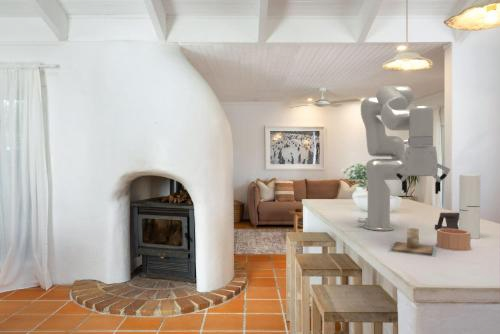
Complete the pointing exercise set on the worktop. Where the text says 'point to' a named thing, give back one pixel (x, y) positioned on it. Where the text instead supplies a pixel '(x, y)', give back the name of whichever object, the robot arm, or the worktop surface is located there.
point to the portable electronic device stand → (448, 221)
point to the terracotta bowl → (453, 239)
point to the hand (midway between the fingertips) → (420, 193)
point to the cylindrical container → (469, 204)
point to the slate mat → (415, 254)
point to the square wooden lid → (413, 244)
